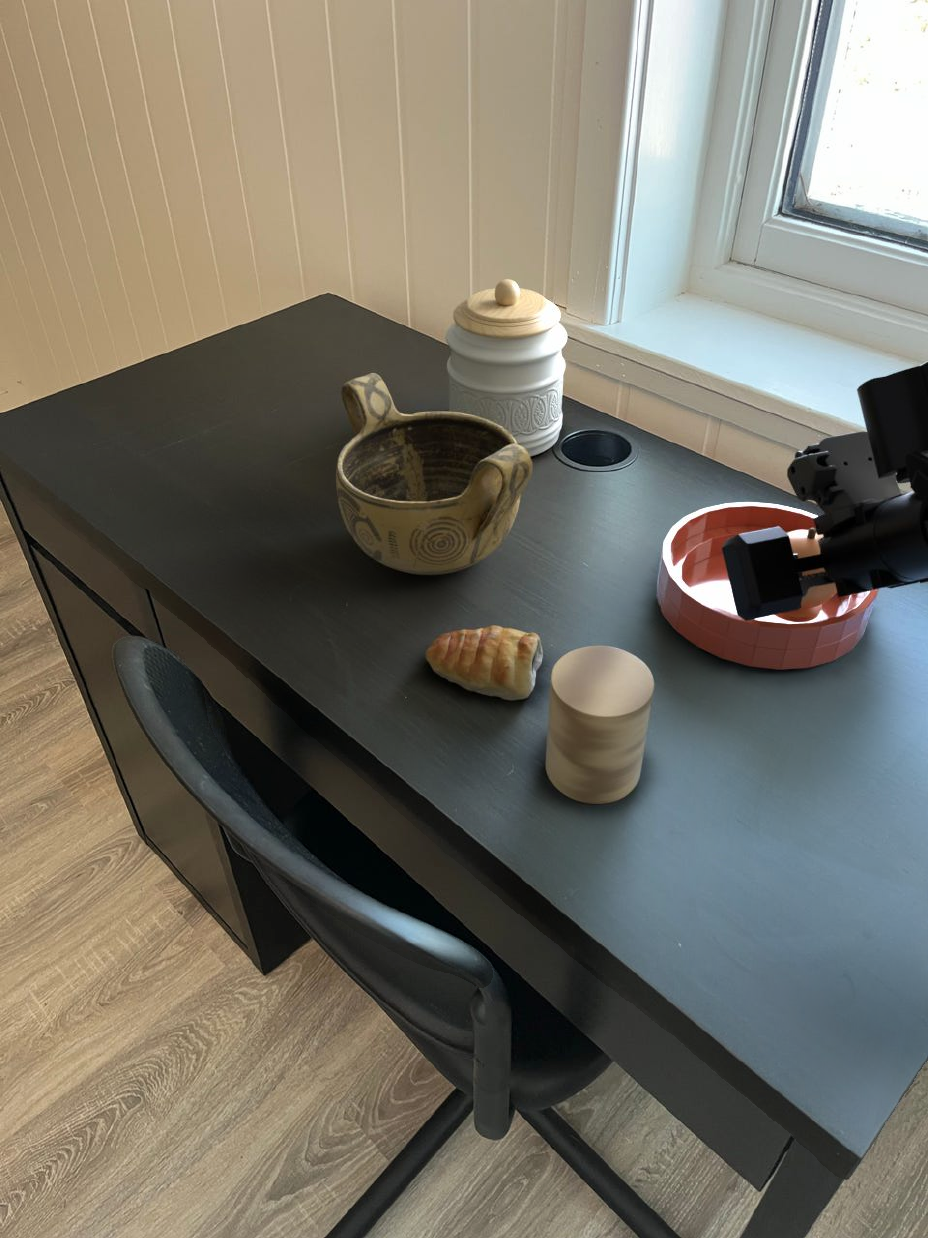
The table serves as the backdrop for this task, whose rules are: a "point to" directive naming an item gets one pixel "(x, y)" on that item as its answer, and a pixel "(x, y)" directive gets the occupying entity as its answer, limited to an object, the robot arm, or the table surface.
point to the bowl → (706, 605)
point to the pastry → (488, 660)
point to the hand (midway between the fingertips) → (789, 573)
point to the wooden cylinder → (597, 723)
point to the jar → (509, 363)
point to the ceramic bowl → (426, 482)
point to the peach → (804, 547)
